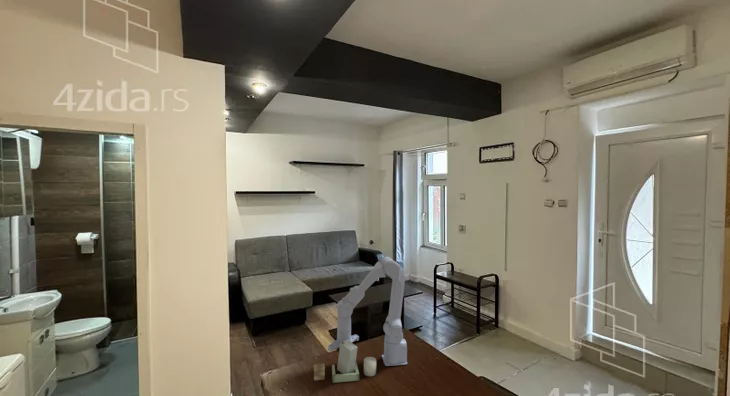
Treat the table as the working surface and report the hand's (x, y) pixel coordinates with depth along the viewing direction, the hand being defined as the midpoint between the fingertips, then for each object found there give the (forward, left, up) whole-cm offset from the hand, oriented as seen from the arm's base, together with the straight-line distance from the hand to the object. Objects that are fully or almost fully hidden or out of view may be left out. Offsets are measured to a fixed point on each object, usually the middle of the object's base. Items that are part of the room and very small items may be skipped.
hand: (343, 362), depth 125 cm
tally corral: (0, +7, -1) cm, 7 cm away
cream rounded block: (-10, +6, -2) cm, 12 cm away
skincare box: (0, +5, -1) cm, 5 cm away
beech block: (+10, +6, -2) cm, 12 cm away
